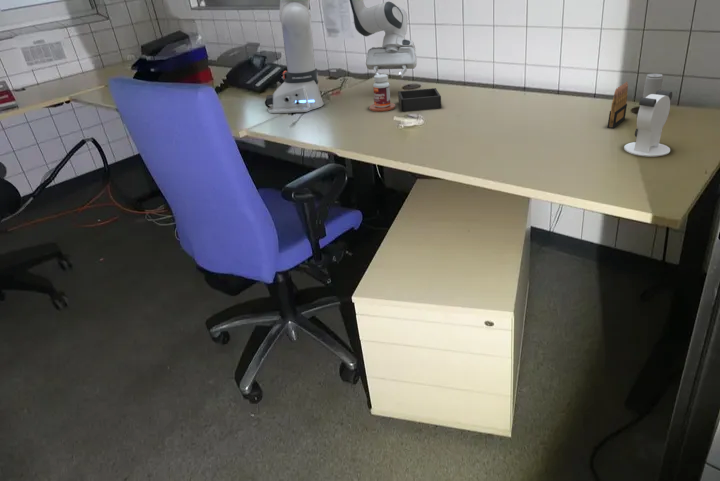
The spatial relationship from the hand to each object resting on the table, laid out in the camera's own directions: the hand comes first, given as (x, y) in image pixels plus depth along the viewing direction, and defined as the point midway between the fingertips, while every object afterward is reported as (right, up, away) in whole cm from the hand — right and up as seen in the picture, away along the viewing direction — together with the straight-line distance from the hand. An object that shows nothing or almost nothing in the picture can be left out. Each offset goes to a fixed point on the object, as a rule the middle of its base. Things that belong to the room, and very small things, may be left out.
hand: (388, 77), depth 215 cm
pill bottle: (-3, -13, -6) cm, 15 cm away
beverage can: (+83, -23, -36) cm, 93 cm away
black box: (+11, -13, -7) cm, 18 cm away
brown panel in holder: (+69, -28, -43) cm, 86 cm away
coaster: (-3, -14, -6) cm, 15 cm away
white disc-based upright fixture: (+68, -39, -64) cm, 101 cm away
